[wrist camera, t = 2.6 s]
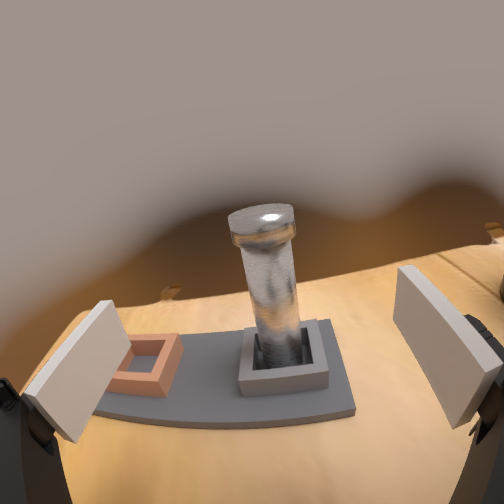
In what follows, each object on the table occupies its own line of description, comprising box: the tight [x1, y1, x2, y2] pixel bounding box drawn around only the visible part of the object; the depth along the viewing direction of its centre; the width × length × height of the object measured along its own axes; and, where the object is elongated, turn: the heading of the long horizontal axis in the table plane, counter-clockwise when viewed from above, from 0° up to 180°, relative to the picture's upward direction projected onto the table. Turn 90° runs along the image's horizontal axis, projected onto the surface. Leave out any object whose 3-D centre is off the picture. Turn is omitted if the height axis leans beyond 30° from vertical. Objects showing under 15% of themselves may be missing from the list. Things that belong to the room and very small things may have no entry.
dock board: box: [92, 319, 356, 429], centre depth 27 cm, size 28×14×4 cm, turn 87°
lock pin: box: [228, 204, 304, 369], centre depth 24 cm, size 5×5×16 cm
